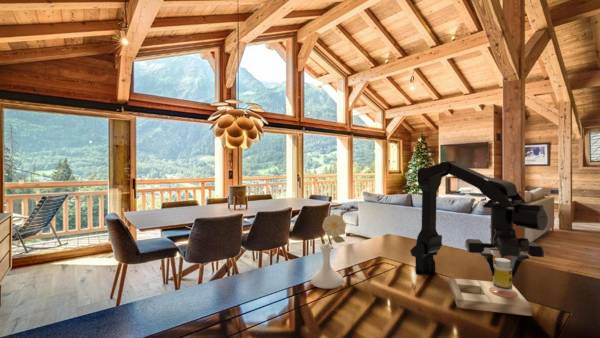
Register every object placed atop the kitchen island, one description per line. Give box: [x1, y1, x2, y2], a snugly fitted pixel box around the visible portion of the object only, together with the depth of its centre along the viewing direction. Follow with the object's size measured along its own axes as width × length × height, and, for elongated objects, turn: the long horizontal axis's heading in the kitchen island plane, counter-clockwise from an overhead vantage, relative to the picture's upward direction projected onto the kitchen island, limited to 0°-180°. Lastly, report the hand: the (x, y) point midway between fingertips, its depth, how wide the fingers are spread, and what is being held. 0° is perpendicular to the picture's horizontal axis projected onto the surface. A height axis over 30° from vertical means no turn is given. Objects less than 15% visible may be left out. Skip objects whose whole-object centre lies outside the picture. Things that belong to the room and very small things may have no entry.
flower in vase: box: [310, 213, 347, 290], centre depth 104 cm, size 13×11×25 cm
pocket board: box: [448, 277, 533, 317], centre depth 91 cm, size 18×16×2 cm
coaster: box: [489, 287, 518, 298], centre depth 90 cm, size 7×7×1 cm
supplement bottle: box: [492, 257, 513, 291], centre depth 90 cm, size 5×5×8 cm
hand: (502, 276), depth 90 cm, fingers closed on supplement bottle, 5 cm apart
